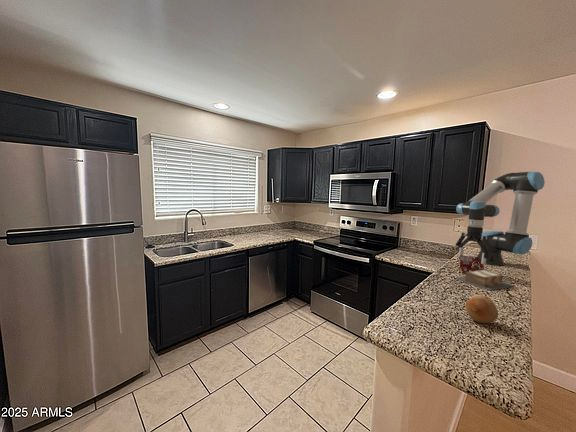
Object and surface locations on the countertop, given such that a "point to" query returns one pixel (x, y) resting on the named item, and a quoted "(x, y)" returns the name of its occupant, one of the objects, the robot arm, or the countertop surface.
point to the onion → (481, 309)
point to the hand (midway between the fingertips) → (471, 260)
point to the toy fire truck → (470, 264)
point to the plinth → (484, 278)
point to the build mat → (503, 285)
